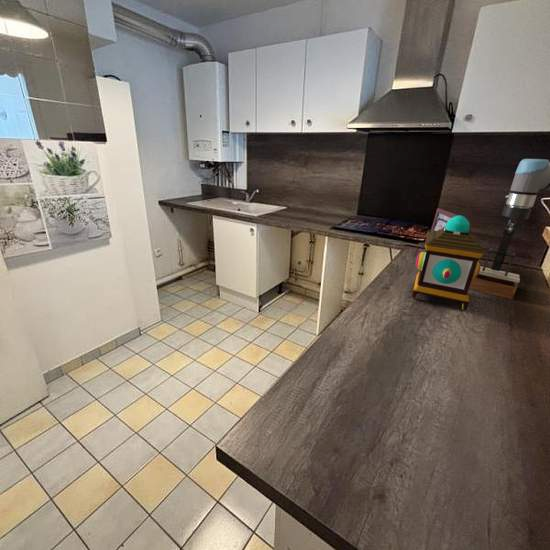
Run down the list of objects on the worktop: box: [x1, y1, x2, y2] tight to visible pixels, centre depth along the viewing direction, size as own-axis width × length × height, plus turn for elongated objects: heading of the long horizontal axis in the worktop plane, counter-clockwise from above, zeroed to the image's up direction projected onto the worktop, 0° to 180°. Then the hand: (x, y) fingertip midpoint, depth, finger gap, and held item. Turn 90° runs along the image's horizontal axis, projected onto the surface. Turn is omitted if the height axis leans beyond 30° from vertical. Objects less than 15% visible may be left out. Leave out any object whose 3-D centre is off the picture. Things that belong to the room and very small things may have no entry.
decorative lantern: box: [411, 214, 485, 311], centre depth 103 cm, size 20×20×30 cm
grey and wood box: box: [479, 247, 521, 284], centre depth 113 cm, size 14×16×10 cm
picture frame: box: [424, 207, 459, 252], centre depth 136 cm, size 17×10×25 cm, turn 178°
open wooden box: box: [469, 274, 518, 301], centre depth 116 cm, size 14×16×5 cm
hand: (495, 269), depth 110 cm, fingers closed on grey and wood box, 2 cm apart
